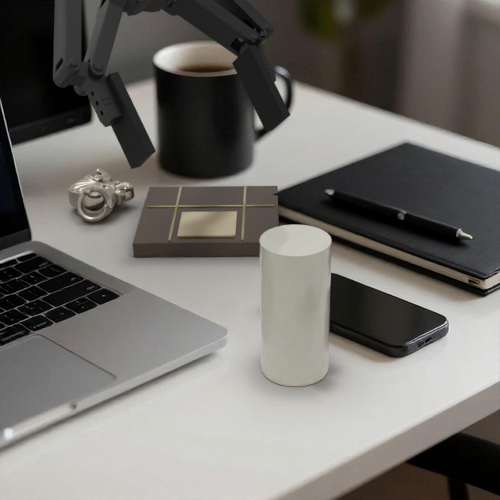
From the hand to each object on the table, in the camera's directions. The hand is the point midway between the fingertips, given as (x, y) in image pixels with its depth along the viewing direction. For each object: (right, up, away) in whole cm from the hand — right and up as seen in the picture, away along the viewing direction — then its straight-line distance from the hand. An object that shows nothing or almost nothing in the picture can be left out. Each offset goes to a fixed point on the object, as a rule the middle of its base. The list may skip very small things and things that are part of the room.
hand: (215, 141), depth 71 cm
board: (-1, -6, +24) cm, 25 cm away
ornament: (-13, -4, +28) cm, 31 cm away
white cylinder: (+6, -17, 0) cm, 18 cm away
